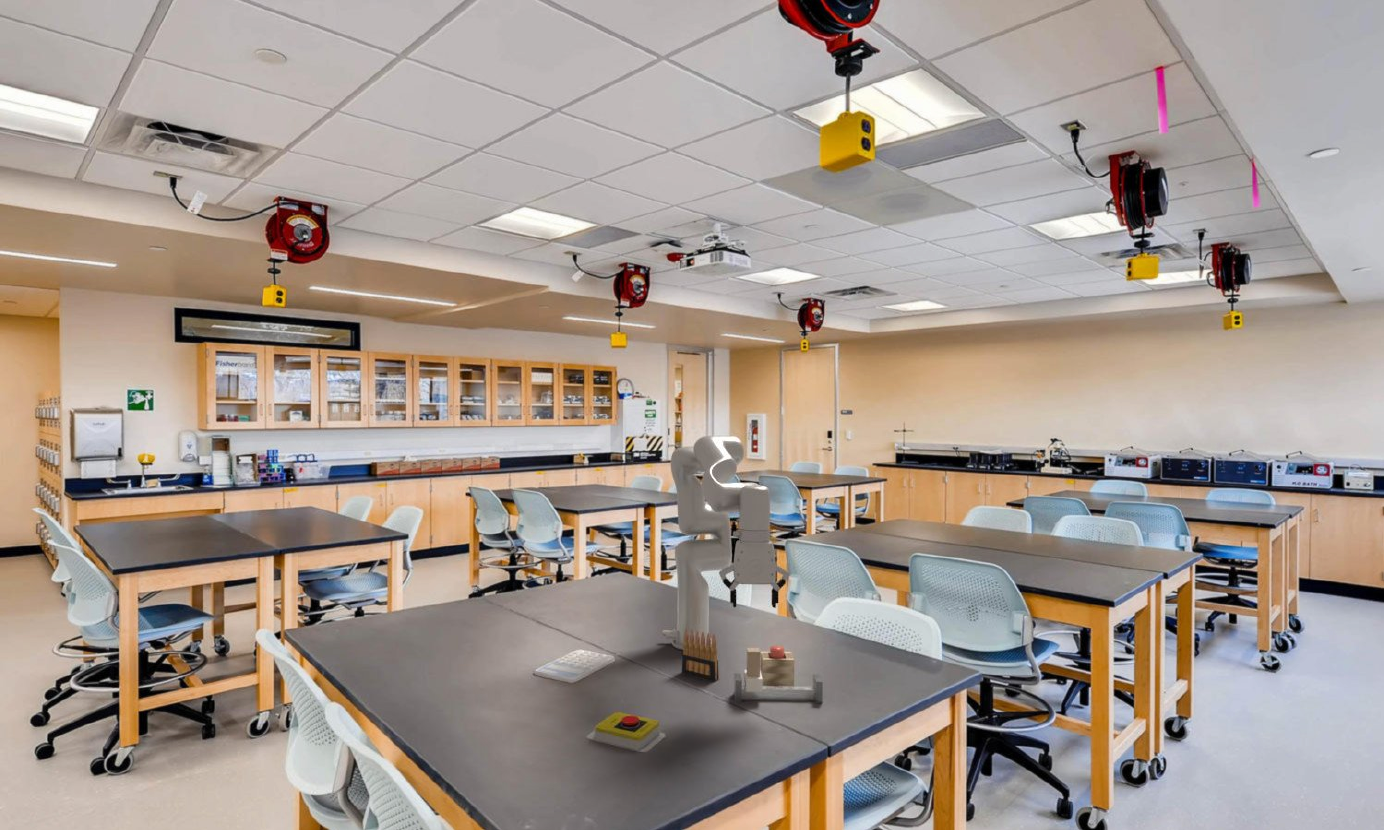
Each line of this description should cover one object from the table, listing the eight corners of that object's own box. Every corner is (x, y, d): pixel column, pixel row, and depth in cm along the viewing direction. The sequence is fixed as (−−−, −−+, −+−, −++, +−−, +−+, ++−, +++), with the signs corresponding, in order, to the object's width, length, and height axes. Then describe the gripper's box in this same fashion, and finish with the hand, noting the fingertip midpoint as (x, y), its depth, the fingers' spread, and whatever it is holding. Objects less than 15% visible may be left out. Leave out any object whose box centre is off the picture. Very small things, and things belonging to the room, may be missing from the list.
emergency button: (646, 733, 139) (584, 719, 146) (645, 755, 139) (584, 740, 146) (667, 716, 148) (608, 703, 154) (667, 736, 148) (608, 723, 154)
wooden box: (762, 686, 175) (762, 659, 175) (760, 678, 181) (760, 651, 181) (794, 687, 175) (794, 659, 175) (790, 678, 181) (791, 651, 181)
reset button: (770, 664, 176) (771, 650, 176) (769, 660, 180) (769, 645, 180) (785, 665, 176) (785, 650, 176) (783, 660, 180) (783, 645, 180)
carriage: (746, 691, 165) (746, 653, 165) (744, 681, 171) (744, 645, 171) (762, 691, 165) (762, 653, 165) (760, 682, 171) (760, 645, 171)
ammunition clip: (718, 679, 180) (719, 633, 180) (715, 681, 178) (715, 635, 178) (685, 671, 186) (685, 626, 186) (681, 673, 184) (681, 628, 184)
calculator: (616, 661, 194) (616, 655, 194) (573, 685, 176) (573, 677, 176) (578, 654, 200) (578, 647, 200) (532, 676, 182) (532, 669, 182)
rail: (735, 701, 165) (735, 680, 165) (734, 693, 170) (734, 673, 170) (822, 702, 165) (822, 681, 165) (818, 694, 170) (818, 674, 170)
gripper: (719, 538, 165) (719, 609, 164) (791, 538, 165) (791, 610, 164) (718, 533, 172) (718, 601, 172) (787, 534, 172) (787, 602, 172)
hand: (754, 606), depth 168 cm, fingers open, 9 cm apart
